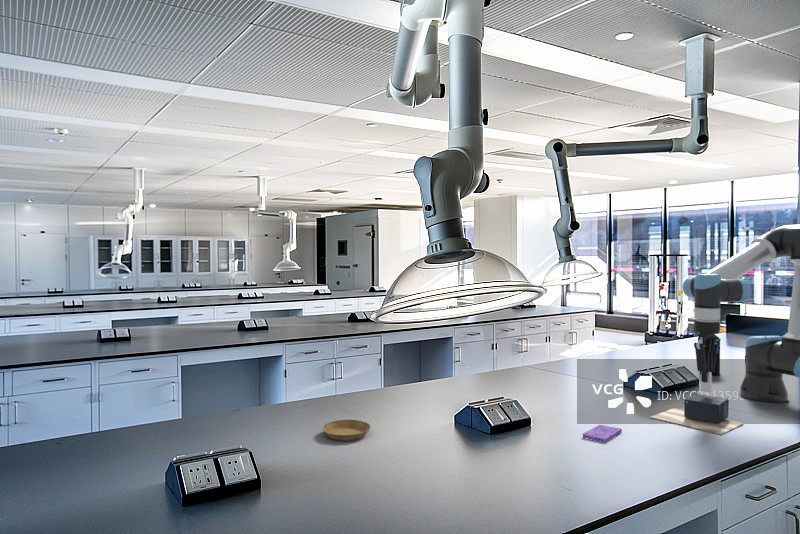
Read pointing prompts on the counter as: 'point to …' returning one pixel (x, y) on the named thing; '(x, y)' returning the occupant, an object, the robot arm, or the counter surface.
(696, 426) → the tan flat board
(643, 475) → the counter surface
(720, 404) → the small box
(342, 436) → the plant saucer
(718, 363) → the aerosol can
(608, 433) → the sponges
